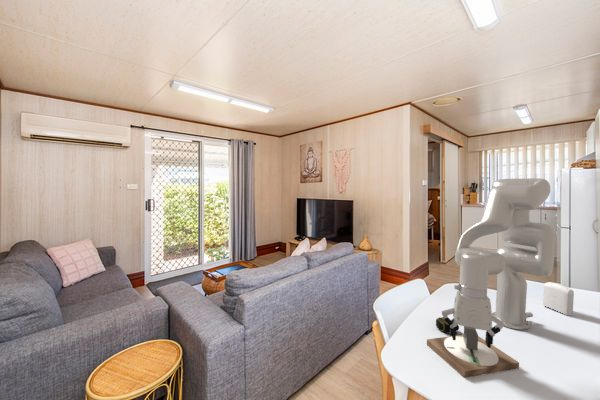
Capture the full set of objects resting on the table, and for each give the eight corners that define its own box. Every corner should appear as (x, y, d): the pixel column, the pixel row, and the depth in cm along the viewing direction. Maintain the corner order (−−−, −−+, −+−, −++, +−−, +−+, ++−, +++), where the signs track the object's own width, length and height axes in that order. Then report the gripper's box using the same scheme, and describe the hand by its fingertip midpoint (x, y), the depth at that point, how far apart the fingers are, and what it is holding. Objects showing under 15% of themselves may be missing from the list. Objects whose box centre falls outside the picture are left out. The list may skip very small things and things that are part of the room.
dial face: (469, 334, 94) (469, 333, 94) (511, 362, 79) (511, 361, 79) (434, 339, 91) (434, 338, 91) (470, 369, 76) (470, 367, 76)
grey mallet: (463, 342, 88) (464, 324, 88) (473, 345, 87) (474, 326, 86) (468, 361, 79) (469, 341, 78) (480, 364, 77) (481, 343, 77)
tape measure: (459, 333, 98) (460, 324, 98) (446, 336, 96) (446, 326, 96) (444, 324, 105) (445, 315, 105) (431, 326, 103) (432, 317, 103)
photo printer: (540, 305, 122) (542, 280, 121) (547, 305, 123) (549, 279, 122) (567, 316, 112) (569, 289, 111) (574, 315, 113) (576, 288, 112)
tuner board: (473, 338, 95) (474, 333, 95) (518, 368, 79) (519, 362, 79) (426, 344, 91) (426, 339, 91) (464, 377, 75) (464, 371, 75)
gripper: (444, 290, 84) (441, 341, 85) (509, 300, 77) (506, 355, 78) (441, 283, 91) (439, 329, 92) (501, 291, 84) (498, 342, 85)
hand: (470, 341), depth 85 cm, fingers open, 9 cm apart
